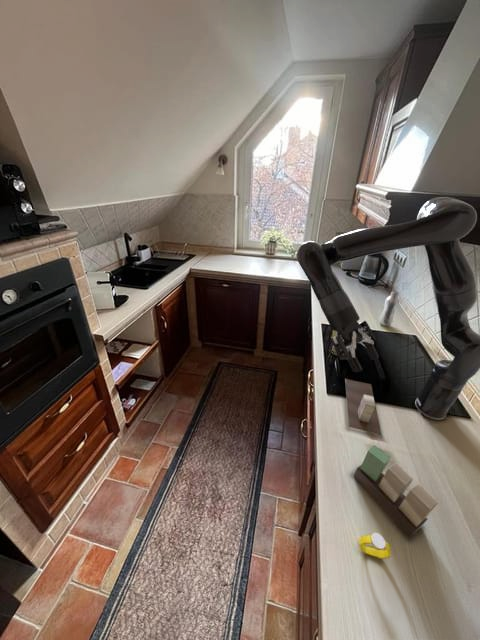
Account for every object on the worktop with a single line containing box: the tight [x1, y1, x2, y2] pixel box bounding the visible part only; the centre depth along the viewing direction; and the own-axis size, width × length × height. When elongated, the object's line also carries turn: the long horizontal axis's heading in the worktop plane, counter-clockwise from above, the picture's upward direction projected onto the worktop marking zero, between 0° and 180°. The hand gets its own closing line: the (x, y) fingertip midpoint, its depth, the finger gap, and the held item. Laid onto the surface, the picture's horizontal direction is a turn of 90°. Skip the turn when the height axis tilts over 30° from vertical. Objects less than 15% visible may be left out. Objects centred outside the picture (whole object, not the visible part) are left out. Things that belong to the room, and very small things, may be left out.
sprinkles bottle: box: [331, 333, 343, 357], centre depth 117 cm, size 5×5×13 cm
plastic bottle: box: [378, 290, 401, 327], centre depth 140 cm, size 6×7×20 cm
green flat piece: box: [360, 444, 391, 482], centre depth 66 cm, size 3×4×8 cm
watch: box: [358, 532, 392, 560], centre depth 55 cm, size 6×3×6 cm, turn 72°
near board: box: [344, 378, 382, 436], centre depth 91 cm, size 24×10×9 cm, turn 163°
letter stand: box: [353, 462, 439, 539], centre depth 63 cm, size 5×16×12 cm, turn 28°
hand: (367, 364), depth 66 cm, fingers open, 8 cm apart
